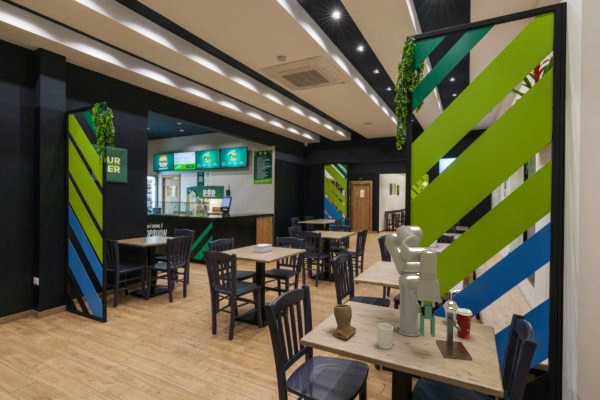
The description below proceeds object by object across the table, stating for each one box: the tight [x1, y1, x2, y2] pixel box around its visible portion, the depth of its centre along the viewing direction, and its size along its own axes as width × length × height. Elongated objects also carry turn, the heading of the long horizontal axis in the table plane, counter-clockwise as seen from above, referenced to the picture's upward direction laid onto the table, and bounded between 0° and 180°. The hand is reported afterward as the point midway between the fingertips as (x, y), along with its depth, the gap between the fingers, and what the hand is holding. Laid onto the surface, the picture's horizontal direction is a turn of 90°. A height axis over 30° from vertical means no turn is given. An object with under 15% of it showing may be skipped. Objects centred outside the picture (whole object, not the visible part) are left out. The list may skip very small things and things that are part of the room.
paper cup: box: [456, 307, 473, 340], centre depth 172 cm, size 8×8×14 cm
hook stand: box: [435, 312, 473, 361], centre depth 155 cm, size 12×17×16 cm
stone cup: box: [332, 303, 357, 340], centre depth 173 cm, size 15×12×15 cm
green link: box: [419, 302, 436, 338], centre depth 154 cm, size 6×4×14 cm, turn 80°
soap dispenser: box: [442, 289, 461, 327], centre depth 188 cm, size 8×9×20 cm
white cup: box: [376, 322, 394, 350], centre depth 160 cm, size 8×8×10 cm
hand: (427, 314), depth 154 cm, fingers closed on green link, 3 cm apart
